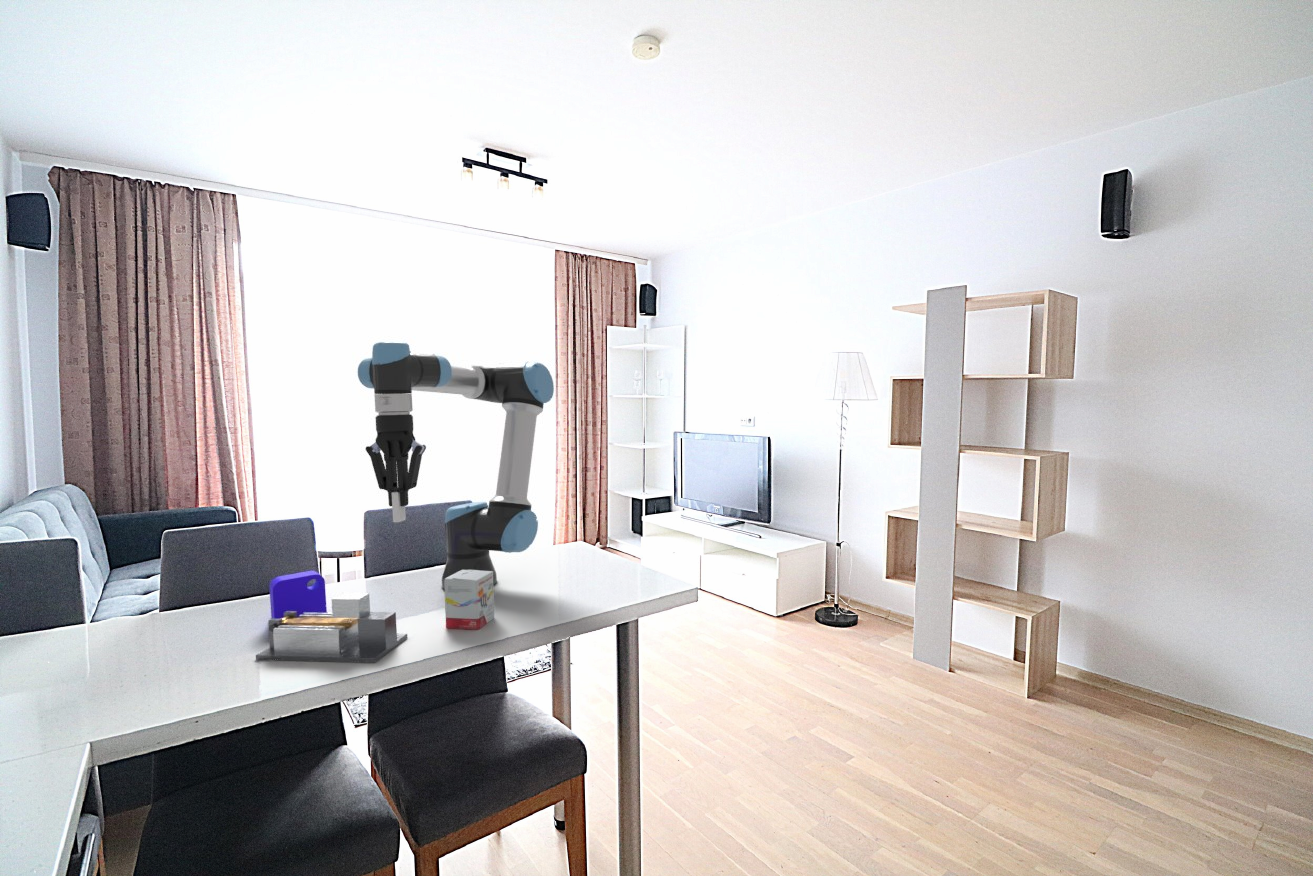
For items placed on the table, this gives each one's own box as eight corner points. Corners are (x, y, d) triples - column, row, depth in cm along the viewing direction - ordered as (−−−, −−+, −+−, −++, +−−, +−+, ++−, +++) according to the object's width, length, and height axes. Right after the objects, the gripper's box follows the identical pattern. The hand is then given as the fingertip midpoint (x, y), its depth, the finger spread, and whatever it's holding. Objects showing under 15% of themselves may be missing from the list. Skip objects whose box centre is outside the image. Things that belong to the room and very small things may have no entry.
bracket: (327, 620, 151) (324, 572, 150) (275, 632, 144) (272, 582, 143) (310, 602, 164) (308, 559, 164) (262, 612, 157) (259, 567, 157)
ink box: (478, 630, 141) (476, 579, 141) (444, 628, 143) (442, 578, 142) (495, 617, 150) (493, 569, 149) (463, 615, 152) (461, 568, 151)
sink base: (298, 635, 141) (296, 603, 140) (407, 638, 138) (405, 605, 137) (255, 659, 128) (253, 624, 127) (374, 662, 125) (373, 627, 124)
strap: (282, 624, 135) (281, 616, 135) (359, 624, 133) (358, 615, 133) (272, 629, 132) (271, 621, 132) (351, 629, 130) (350, 620, 130)
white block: (344, 611, 134) (343, 593, 134) (370, 611, 133) (369, 593, 133) (332, 617, 130) (331, 599, 130) (359, 618, 129) (358, 599, 129)
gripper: (355, 414, 132) (361, 524, 133) (414, 413, 130) (419, 524, 132) (375, 413, 139) (380, 517, 140) (430, 412, 138) (435, 517, 139)
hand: (399, 520), depth 136 cm, fingers closed
